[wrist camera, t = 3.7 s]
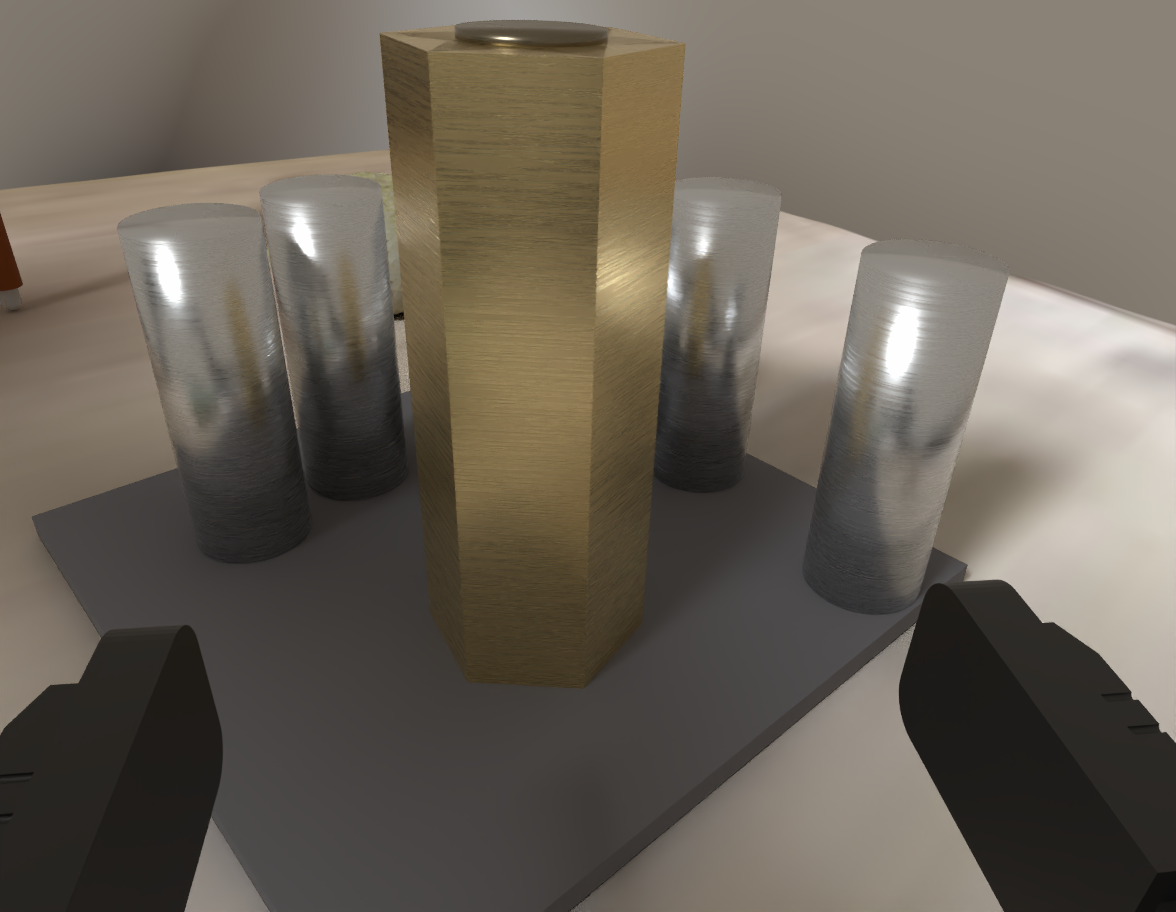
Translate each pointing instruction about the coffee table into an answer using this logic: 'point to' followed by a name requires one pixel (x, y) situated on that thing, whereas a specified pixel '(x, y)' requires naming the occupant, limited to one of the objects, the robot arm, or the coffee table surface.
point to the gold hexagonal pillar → (534, 327)
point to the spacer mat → (470, 691)
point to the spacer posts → (687, 384)
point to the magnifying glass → (8, 273)
